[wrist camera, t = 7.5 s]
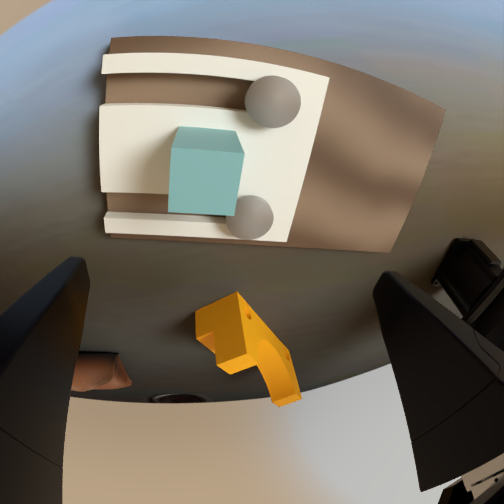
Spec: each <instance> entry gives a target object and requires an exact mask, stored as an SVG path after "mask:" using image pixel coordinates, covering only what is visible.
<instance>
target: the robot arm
mask: <svg viewBox="0 0 504 504" xmlns="http://www.w3.org/2000/svg"><path fill="white" fill-rule="evenodd" d="M500 265H501V261H500V260H499V259H498V258H497V257H496V256H495V254H494V253H493V252H492V251H491V250H490V249H489V248H488V247H487V246H486V245H485V244H484V243H483V242H482V241H480V240H474V239H470V240H467V239H460V238H458V239H456V240H455V242H454V244H453V245H452V247H451V249H450V251H449V253H448V254H447V256H446V258H445V260H444V261H443V263H442V265H441V267H440V268H439V270H438V272H437V273H436V275H435V277H434V278H433V280H432V282H431V284H432V285H433V286H442V287H443V289H444V290H445V292H446V293H447V294H448V296H449V297H450V298H451V300H452V301H453V303H454V304H455V305H456V307H457V308H458V310H459V311H460V313H461V314H462V316H463V318H462V319H460V318H459V317H458V316H456V315H455V314H454V313H452V312H451V311H450V310H448V309H447V308H446V307H444V306H443V305H442V304H440V303H439V302H438V301H436V300H435V299H434V298H432V297H431V296H429V295H428V294H427V293H425V292H424V291H423V290H421V289H420V288H418V287H417V286H416V285H414V284H413V283H411V282H410V281H409V280H407V279H406V278H404V277H403V276H401V275H400V274H399V273H397V272H395V271H384V272H383V273H382V274H381V276H380V278H379V280H378V282H377V284H376V285H375V287H374V289H373V298H374V302H375V306H376V310H377V315H378V319H379V323H380V327H381V332H382V336H383V339H384V342H385V345H386V348H387V352H388V355H389V358H390V361H391V364H392V368H393V371H394V375H395V378H396V382H397V386H398V389H399V393H400V397H401V401H402V404H403V408H404V412H405V416H406V421H407V425H408V429H409V433H410V438H411V441H412V442H411V444H412V449H413V454H414V459H415V464H416V470H417V475H418V482H419V488H420V491H421V492H423V491H426V490H428V489H431V488H433V487H436V486H439V485H441V484H443V483H446V482H448V481H451V480H453V479H455V478H457V477H459V476H461V478H460V479H459V480H457V481H456V482H454V483H453V484H451V485H449V486H448V487H447V488H445V489H443V492H442V494H441V497H440V500H439V502H438V504H504V268H503V270H502V269H501V268H500ZM89 289H90V279H89V275H88V271H87V266H86V262H85V259H84V258H83V257H75V256H71V257H69V258H68V259H66V260H65V261H64V262H62V263H61V264H60V265H59V266H57V267H56V268H55V269H54V270H52V271H51V272H50V273H49V274H47V275H46V276H45V277H44V278H42V279H41V280H40V281H39V282H38V283H36V284H35V285H34V286H33V287H32V288H31V289H29V290H28V291H27V292H26V293H25V294H24V295H22V296H21V297H20V298H19V299H18V300H17V301H16V302H15V303H13V304H12V305H11V306H10V307H9V308H8V309H7V310H6V311H5V312H4V313H2V314H1V315H0V504H62V477H63V476H62V475H63V468H62V467H63V453H64V452H63V451H64V441H65V430H66V422H67V414H68V406H69V400H70V393H71V387H72V382H73V376H74V371H75V366H76V361H77V356H78V352H79V347H80V343H81V338H82V333H83V327H84V319H85V313H86V306H87V300H88V294H89Z"/></svg>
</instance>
